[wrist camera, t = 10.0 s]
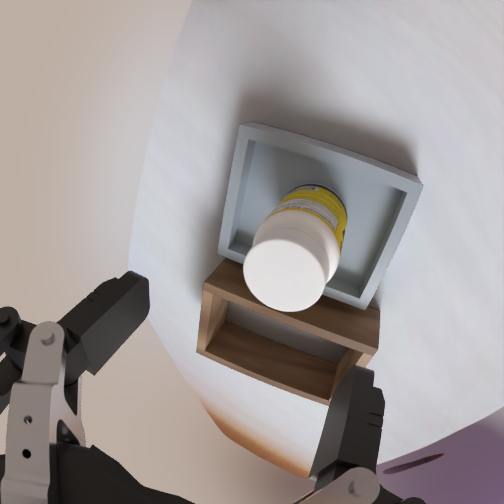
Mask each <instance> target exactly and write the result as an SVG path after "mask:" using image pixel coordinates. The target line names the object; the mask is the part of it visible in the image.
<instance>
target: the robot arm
mask: <svg viewBox="0 0 504 504" xmlns="http://www.w3.org/2000/svg"><path fill="white" fill-rule="evenodd" d="M149 309H150V300H149V281H148V279H147V278H145V277H143V276H141V275H139V274H137V273H135V272H133V271H128V272H127V273H125V274H124V275H123V276H122V277H121V278H119V279H117V278H113V279H111V280H108V281H105V282H103V283H102V284H101V285H99V286H98V287H97V288H96V289H95V290H94V292H92V293H90V294H89V295H88V296H87V297H86V299H85V298H84V299H83V300H82V301H81V302H80V303H79V304H78V305H76V306H75V307H74V308H73V309H72V310H71V311H70V312H68V313H67V314H66V315H65V316H64V317H63V318H62V319H61V320H60V321H58V322H56V323H55V322H50V321H49V322H43V323H40V324H39V325H35V324H32V323H29V322H26V321H23V320H21V319H20V316H19V314H18V312H17V310H16V309H14V308H12V307H3V308H0V356H1V355H2V354H3V353H4V352H5V354H6V356H5V358H4V359H3V360H2V361H1V362H0V414H1V413H2V412H3V410H4V409H5V408H6V406H7V405H8V404H9V403H10V404H9V412H8V423H7V435H6V454H3V455H0V504H195V503H192V502H190V501H188V500H186V499H184V498H182V497H180V496H176V495H173V494H168V493H165V492H161V491H157V490H154V489H150V488H147V487H144V486H143V485H141V484H140V483H139V482H138V481H137V480H136V479H135V478H133V476H132V475H131V474H130V473H129V472H128V471H126V469H124V467H122V465H121V464H120V463H119V462H117V461H116V460H114V459H113V458H111V457H110V456H108V455H107V454H105V453H104V452H102V451H101V450H100V449H98V448H97V447H95V446H94V445H92V446H91V448H87V447H86V441H85V433H84V428H83V425H82V421H81V387H82V376H81V374H82V373H83V372H84V371H85V370H87V371H89V372H90V373H91V374H93V375H95V374H96V373H97V372H98V371H99V370H100V369H101V368H102V367H103V365H104V364H105V363H106V362H107V361H108V360H109V359H110V358H111V356H112V355H113V354H114V353H115V352H116V351H117V350H118V349H119V348H120V346H121V345H122V344H123V343H124V342H125V341H126V340H127V339H128V338H129V337H130V335H131V334H132V333H133V332H134V331H135V330H136V329H137V328H138V327H139V326H140V324H141V323H142V322H143V321H144V320H145V318H146V317H147V315H148V313H149ZM373 382H374V371H373V370H370V369H367V368H364V367H361V366H358V365H353V366H352V367H351V369H350V370H349V371H348V373H347V374H346V375H345V377H344V378H343V379H342V381H341V382H340V383H339V385H338V386H337V387H336V389H335V391H334V393H333V395H332V398H331V401H330V405H329V409H328V413H327V417H326V420H325V424H324V428H323V431H322V435H321V438H320V442H319V445H318V448H317V452H316V455H315V458H314V461H313V465H312V468H311V471H310V474H309V477H308V479H311V480H315V481H316V484H315V488H314V490H312V491H311V492H309V493H308V494H306V495H305V496H303V497H302V498H300V499H298V500H297V501H296V502H294V503H292V504H426V503H425V502H424V501H423V500H422V499H420V498H416V497H412V498H407V499H405V500H403V499H401V498H399V497H398V496H396V495H394V494H392V493H390V492H389V491H387V490H386V489H384V488H383V487H382V486H381V484H380V483H379V480H378V478H377V476H376V464H377V458H378V452H379V446H380V439H381V432H382V429H381V428H382V425H383V416H384V408H385V400H384V397H383V393H382V390H381V389H379V388H376V387H373Z"/></svg>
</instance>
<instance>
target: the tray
mask: <svg viewBox="0 0 504 504" xmlns="http://www.w3.org/2000/svg"><path fill="white" fill-rule="evenodd" d="M307 183H317V184H322V185H325V186H327V187H329V188H331V189H332V190H334V191H335V192H336V193H337V194H338V195H339V196H340V197H341V199H342V200H343V202H344V204H345V206H346V210H347V216H348V219H347V226H346V231H345V236H344V241H343V245H342V250H341V254H340V259H339V263H338V266H337V269H336V271H335V273H334V275H333V276H332V278H331V279H330V280H329V281H328V282H327V283H326V285H325V288H324V290H323V293H322V295H325V296H328V297H330V298H333V299H336V300H338V301H341V302H344V303H346V304H349V305H352V306H354V307H357V308H360V309H363V310H366V308H367V306H368V304H369V303H370V301H371V299H372V297H373V295H374V293H375V291H376V290H377V288H378V286H379V284H380V282H381V280H382V278H383V276H384V274H385V272H386V270H387V268H388V266H389V264H390V262H391V260H392V258H393V256H394V253H395V251H396V249H397V247H398V245H399V243H400V241H401V238H402V236H403V234H404V232H405V229H406V227H407V225H408V223H409V220H410V218H411V216H412V213H413V211H414V209H415V206H416V204H417V201H418V199H419V196H420V194H421V191H422V189H423V184H422V182H421V181H420V179H419V178H418V177H417V176H415V175H412V174H410V173H408V172H405V171H403V170H400V169H398V168H395V167H393V166H390V165H388V164H385V163H383V162H380V161H378V160H375V159H372V158H370V157H367V156H364V155H361V154H359V153H356V152H353V151H350V150H347V149H344V148H341V147H338V146H335V145H332V144H329V143H326V142H323V141H320V140H317V139H313V138H310V137H307V136H303V135H300V134H297V133H293V132H289V131H286V130H282V129H279V128H275V127H271V126H267V125H263V124H259V123H255V122H249V123H244V124H240V125H239V129H238V134H237V140H236V145H235V150H234V156H233V161H232V167H231V172H230V178H229V184H228V190H227V195H226V201H225V207H224V213H223V219H222V225H221V232H220V238H219V244H218V250H217V254H218V255H221V256H223V257H226V258H229V259H231V260H234V261H236V262H239V263H241V264H244V260H245V257H246V255H247V253H248V252H249V250H250V249H251V247H252V246H253V240H254V237H255V234H256V232H257V230H258V228H259V227H260V225H261V224H262V222H263V221H264V220H265V219H266V218H267V217H268V216H269V215H270V213H271V212H272V211H273V210H274V209H275V208H276V207H277V206H278V204H279V203H280V202H281V201H282V200H283V198H284V197H285V196H286V195H287V194H288V193H289V192H290V191H291V190H292V189H294V188H295V187H297V186H299V185H302V184H307Z"/></svg>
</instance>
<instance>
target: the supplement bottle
mask: <svg viewBox="0 0 504 504" xmlns="http://www.w3.org/2000/svg"><path fill="white" fill-rule="evenodd" d="M347 219H348V216H347V210H346V206H345V204H344V202H343V200H342V199H341V197H340V196H339V195H338V194H337V193H336V192H335V191H334V190H332V189H331V188H329V187H327V186H325V185H322V184H317V183H307V184H302V185H299V186H297V187H295V188H294V189H292V190H291V191H290V192H289V193H288V194H287V195H286V196H285V197H284V198H283V200H282V201H281V202H280V203H279V204H278V206H277V207H276V208H275V209H274V210H273V211H272V212H271V213H270V215H269V216H268V217H267V218H266V219H265V220H264V221H263V222H262V224H261V225H260V227H259V228H258V230H257V232H256V234H255V237H254V240H253V246H252V247H251V249H250V250H249V252H248V253H247V255H246V257H245V260H244V265H243V273H244V278H245V281H246V284H247V286H248V288H249V289H250V291H251V292H252V293H253V295H254V296H255V297H256V298H257V299H258V300H260V301H261V302H262V303H264V304H265V305H267V306H269V307H271V308H273V309H276V310H280V311H286V312H294V311H300V310H304V309H306V308H308V307H310V306H312V305H313V304H314V303H315V302H316V301H317V300H318V299H319V298H320V296H321V295H322V293H323V290H324V288H325V285H326V283H327V282H328V281H329V280H330V279H331V278H332V276H333V275H334V273H335V271H336V269H337V266H338V263H339V259H340V254H341V250H342V245H343V241H344V236H345V231H346V226H347Z"/></svg>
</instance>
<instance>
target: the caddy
mask: <svg viewBox="0 0 504 504" xmlns="http://www.w3.org/2000/svg"><path fill="white" fill-rule="evenodd" d="M243 265H244V264H241V263H239V262H236V261H234V260H231V259H229V258H225V259H224V260H223V261H222V263H221V264H220V265H219V266H218V267H217V268H216V269H215V270H214V272H213V273H212V274H211V275H210V276H209V277H208V278H207V279H206V281H205V282H204V288H203V296H202V305H201V313H200V322H199V331H198V341H197V351H196V352H197V353H199V354H201V355H203V356H205V357H207V358H209V359H211V360H214V361H216V362H218V363H220V364H222V365H225V366H227V367H229V368H231V369H234V370H236V371H238V372H241V373H243V374H245V375H248V376H250V377H252V378H255V379H257V380H260V381H262V382H265V383H267V384H270V385H272V386H275V387H277V388H280V389H283V390H285V391H288V392H290V393H293V394H296V395H299V396H301V397H304V398H307V399H310V400H313V401H316V402H318V403H321V404H324V405H327V406H329V405H330V401H331V398H332V395H333V393H334V391H335V389H336V387H337V386H338V385H339V383H340V382H341V381H342V379H343V378H344V377H345V375H346V374H347V373H348V371H349V370H350V369H351V367H352V366H353V365H358V366H361V367H364V368H365V367H366V365H367V364H368V363H369V361H370V360H371V359H372V357H373V356H374V354H375V353H376V352H377V350H378V345H379V329H380V311H379V310H376V309H373V308H371V307H368V306H367V308H366V310H363V309H360V308H357V307H354V306H352V305H349V304H346V303H344V302H341V301H338V300H336V299H333V298H330V297H328V296H325V295H321V296H320V298H319V299H318V300H317V301H316V302H315V303H314V304H313V305H312V306H310V307H308V308H306V309H304V310H300V311H294V312H286V311H280V310H276V309H273V308H271V307H269V306H267V305H265V304H264V303H262V302H261V301H260V300H258V299H257V298H256V297H255V296H254V295H253V293H252V292H251V291H250V289H249V288H248V286H247V284H246V281H245V278H244V273H243ZM229 301H230V302H232V303H235V304H237V305H240V306H242V307H244V308H247V309H249V310H252V311H254V312H257V313H259V314H262V315H264V316H267V317H269V318H272V319H274V320H277V321H279V322H282V323H284V324H287V325H289V326H292V327H295V328H297V329H300V330H302V331H305V332H308V333H310V334H313V335H316V336H318V337H321V338H324V339H326V340H329V341H332V342H335V343H337V344H340V345H343V346H346V347H349V348H348V349H347V351H346V352H345V354H344V355H343V357H342V359H341V360H340V362H339V363H338V365H337V364H334V363H331V362H328V361H325V360H323V359H320V358H317V357H314V356H312V355H309V354H306V353H304V352H301V351H298V350H296V349H293V348H291V347H288V346H285V345H283V344H280V343H278V342H275V341H273V340H270V339H268V338H265V337H263V336H260V335H258V334H255V333H253V332H251V331H248V330H246V329H243V328H241V327H239V326H236V325H234V324H232V323H229V322H227V321H225V319H226V314H227V309H228V304H229Z"/></svg>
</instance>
